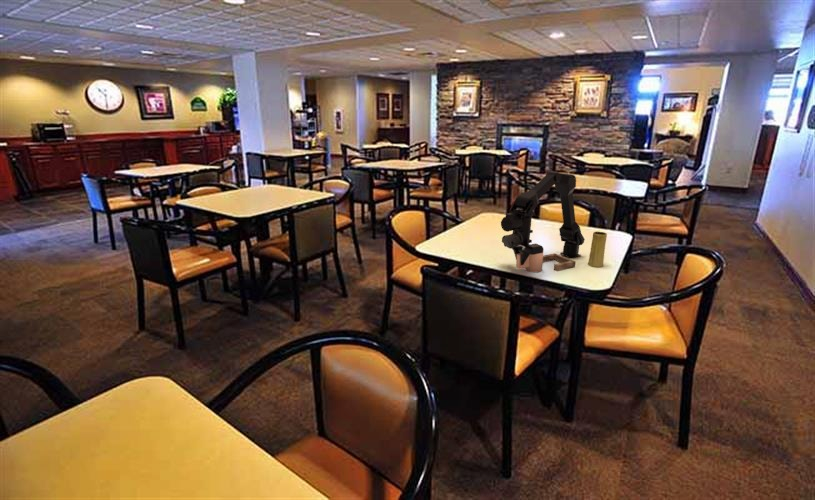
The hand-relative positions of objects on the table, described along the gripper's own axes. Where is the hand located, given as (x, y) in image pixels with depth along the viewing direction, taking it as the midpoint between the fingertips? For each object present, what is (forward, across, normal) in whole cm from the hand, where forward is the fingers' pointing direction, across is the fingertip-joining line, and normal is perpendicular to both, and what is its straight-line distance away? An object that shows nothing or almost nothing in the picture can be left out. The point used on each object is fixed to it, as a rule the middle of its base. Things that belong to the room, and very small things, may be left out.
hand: (520, 264), depth 177 cm
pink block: (+3, 0, +5) cm, 6 cm away
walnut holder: (+4, 0, +19) cm, 19 cm away
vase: (+4, +8, +35) cm, 36 cm away
